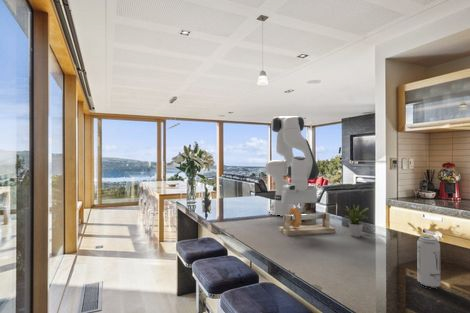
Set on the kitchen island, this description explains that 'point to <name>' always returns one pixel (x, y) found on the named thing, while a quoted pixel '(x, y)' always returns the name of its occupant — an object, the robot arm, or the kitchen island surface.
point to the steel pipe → (309, 216)
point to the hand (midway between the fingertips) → (299, 211)
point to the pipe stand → (306, 227)
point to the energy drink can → (428, 261)
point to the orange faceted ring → (297, 215)
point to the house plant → (355, 221)
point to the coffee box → (309, 212)
